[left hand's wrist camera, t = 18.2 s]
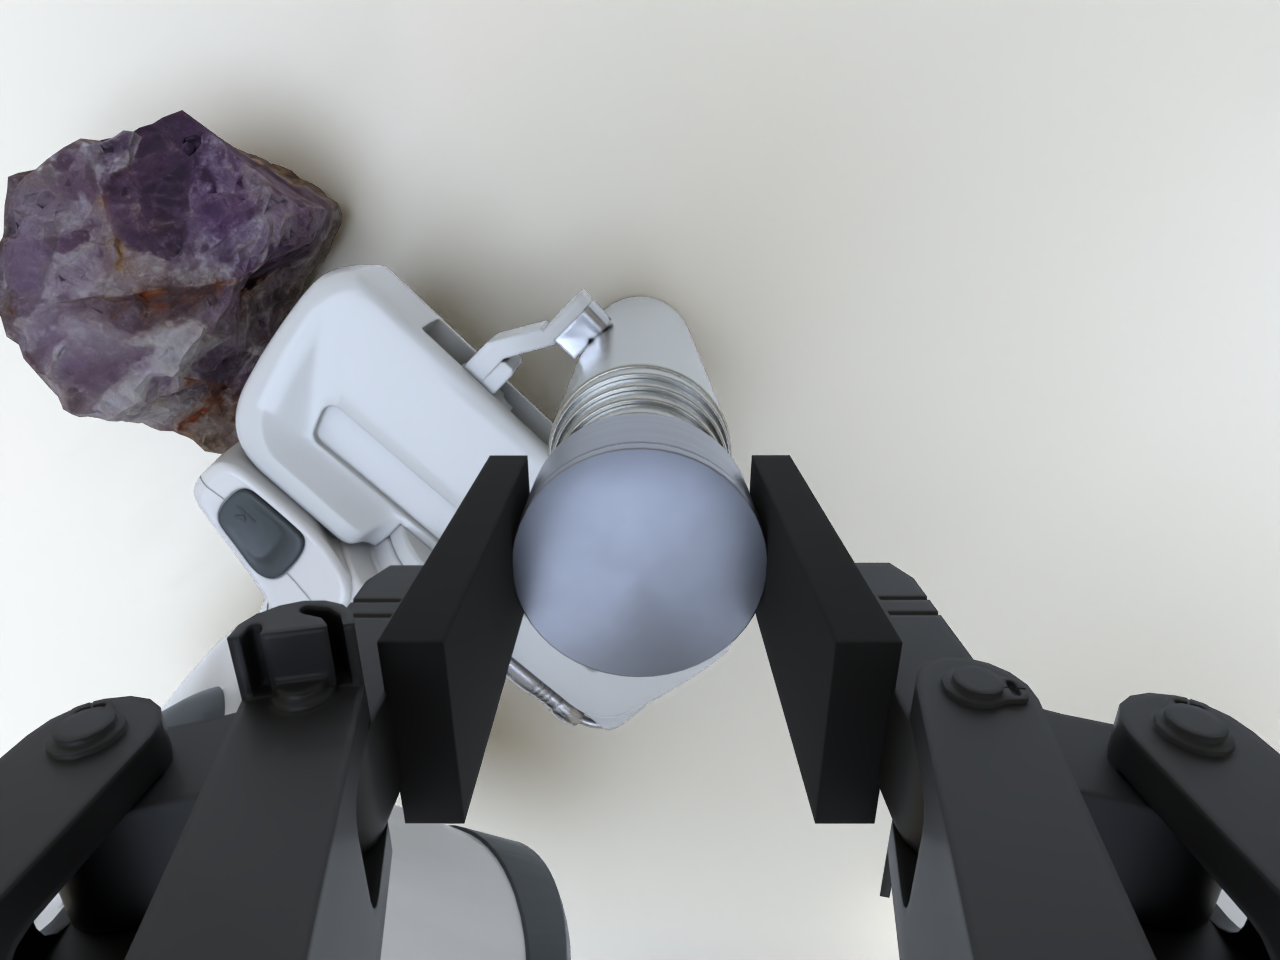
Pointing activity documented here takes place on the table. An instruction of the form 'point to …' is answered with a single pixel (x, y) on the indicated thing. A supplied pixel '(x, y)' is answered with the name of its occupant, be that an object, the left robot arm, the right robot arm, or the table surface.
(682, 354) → the bottle
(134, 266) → the rock
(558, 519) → the cap
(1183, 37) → the table surface
